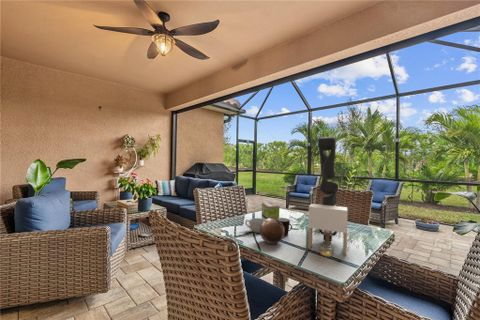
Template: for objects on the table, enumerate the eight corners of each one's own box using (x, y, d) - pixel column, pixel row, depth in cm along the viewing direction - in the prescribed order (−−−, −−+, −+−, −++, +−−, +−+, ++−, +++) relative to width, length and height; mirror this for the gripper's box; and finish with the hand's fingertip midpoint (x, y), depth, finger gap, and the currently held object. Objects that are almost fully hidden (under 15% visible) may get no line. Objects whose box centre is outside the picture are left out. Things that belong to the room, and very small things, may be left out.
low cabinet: (309, 242, 140) (310, 203, 140) (345, 248, 132) (346, 207, 132) (307, 248, 131) (309, 206, 130) (346, 255, 123) (347, 210, 123)
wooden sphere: (254, 241, 140) (254, 217, 140) (271, 236, 149) (272, 214, 149) (271, 249, 128) (272, 223, 128) (289, 244, 137) (290, 219, 137)
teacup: (266, 230, 163) (266, 219, 162) (263, 234, 152) (263, 223, 152) (247, 227, 167) (248, 217, 167) (243, 232, 157) (243, 220, 157)
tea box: (261, 219, 190) (261, 202, 190) (272, 219, 192) (272, 201, 192) (267, 225, 175) (267, 205, 175) (279, 224, 178) (280, 205, 177)
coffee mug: (275, 232, 158) (275, 217, 158) (287, 232, 159) (287, 217, 159) (279, 238, 147) (280, 222, 147) (292, 238, 147) (293, 222, 147)
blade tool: (321, 238, 147) (322, 229, 147) (333, 240, 144) (333, 231, 144) (319, 251, 127) (319, 240, 127) (333, 253, 125) (333, 242, 125)
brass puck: (327, 252, 127) (327, 249, 127) (334, 256, 121) (334, 253, 121) (318, 253, 125) (318, 250, 125) (324, 257, 120) (324, 254, 119)
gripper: (316, 213, 140) (315, 241, 140) (340, 216, 135) (339, 245, 135) (317, 211, 147) (316, 237, 147) (340, 213, 142) (339, 241, 142)
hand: (327, 241), depth 141 cm, fingers closed on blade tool, 2 cm apart
